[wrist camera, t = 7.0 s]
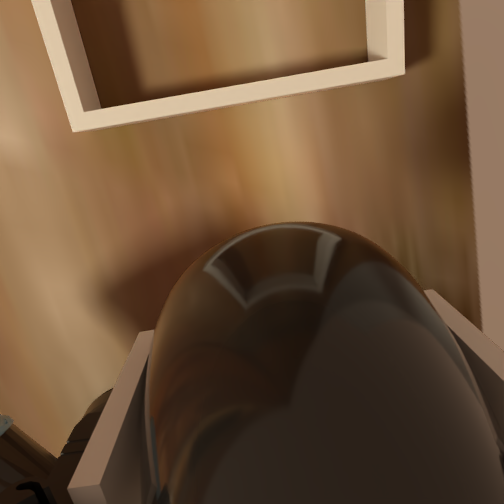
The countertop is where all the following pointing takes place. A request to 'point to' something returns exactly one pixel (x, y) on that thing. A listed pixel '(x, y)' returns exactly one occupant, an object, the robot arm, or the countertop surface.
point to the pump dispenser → (311, 382)
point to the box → (95, 118)
